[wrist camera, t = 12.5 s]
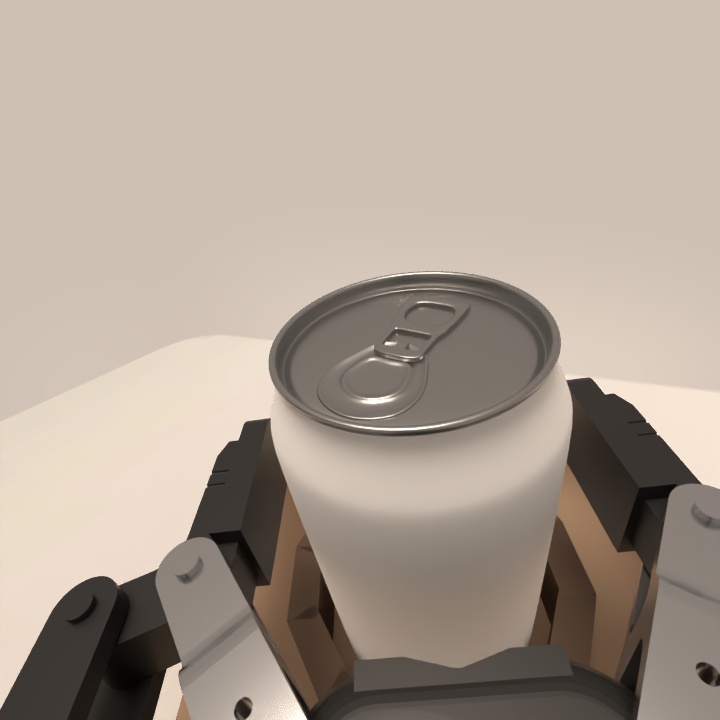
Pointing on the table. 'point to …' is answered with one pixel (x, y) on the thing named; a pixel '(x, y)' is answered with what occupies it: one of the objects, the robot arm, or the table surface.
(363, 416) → the can
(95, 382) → the table surface
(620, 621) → the socket board
